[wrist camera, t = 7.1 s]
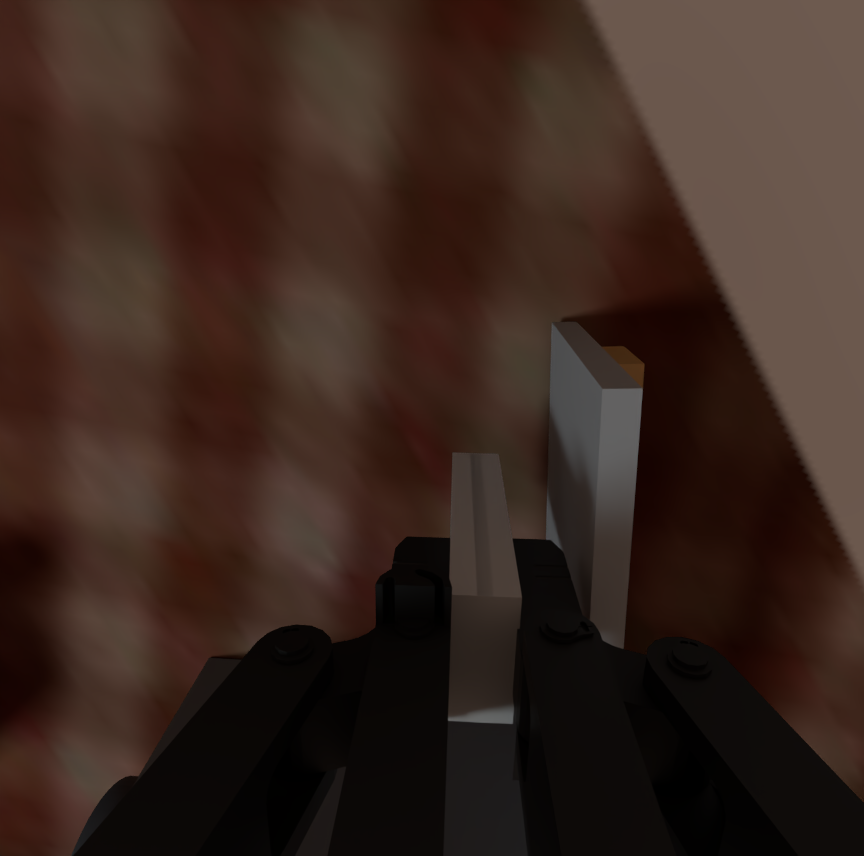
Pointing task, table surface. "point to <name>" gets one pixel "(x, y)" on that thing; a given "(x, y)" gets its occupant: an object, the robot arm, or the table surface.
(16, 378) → the table surface
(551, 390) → the side door
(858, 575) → the table surface
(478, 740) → the camera case
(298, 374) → the table surface
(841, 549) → the table surface
